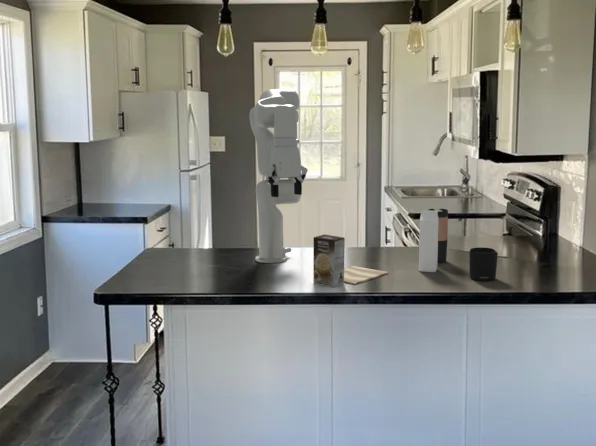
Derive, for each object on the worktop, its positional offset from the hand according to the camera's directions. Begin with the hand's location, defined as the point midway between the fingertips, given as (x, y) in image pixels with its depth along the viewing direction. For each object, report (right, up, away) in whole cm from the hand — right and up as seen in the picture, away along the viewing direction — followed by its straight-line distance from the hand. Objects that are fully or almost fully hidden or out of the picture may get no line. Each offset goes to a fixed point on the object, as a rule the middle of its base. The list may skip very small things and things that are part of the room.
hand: (286, 195), depth 225 cm
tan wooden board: (+23, -28, +17) cm, 40 cm away
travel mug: (+57, -24, +39) cm, 73 cm away
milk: (+51, -26, +25) cm, 63 cm away
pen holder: (+68, -28, +12) cm, 74 cm away
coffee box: (+14, -30, +7) cm, 34 cm away
